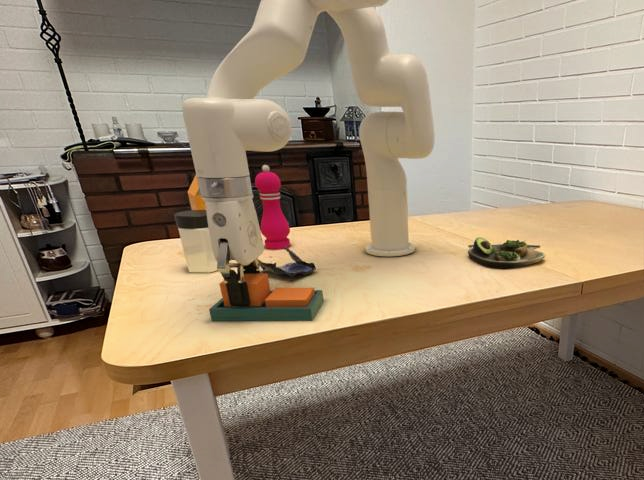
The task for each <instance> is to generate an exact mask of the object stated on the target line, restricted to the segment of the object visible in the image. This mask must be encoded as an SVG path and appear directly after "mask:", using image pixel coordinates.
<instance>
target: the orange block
mask: <svg viewBox="0 0 644 480" xmlns="http://www.w3.org/2000/svg"><path fill="white" fill-rule="evenodd" d="M244 282H247V287H248V292H249V297H250V305H249V306H231V305H230V302H229V297H228V292H227V288H226V284H225V283H224V280H222V281H221V282H220V283H219V289H220V293H221V297H222V298H223V302H224V307H260V306H261V305H262V304H263V303H264V302H265V299H266V298H267V297H268V296H269V295H270V294H271V292H270V290H271V287H270V282H269V275H268V273H260V274H244ZM222 298H221V299H222Z"/></svg>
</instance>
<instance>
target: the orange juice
mask: <svg viewBox="0 0 644 480" xmlns="http://www.w3.org/2000/svg"><path fill="white" fill-rule="evenodd" d="M187 196H188V200H189V203H190V209H191V210H206V203H205V201H203V200H202V199H201V194H200V190H199V185H198V181H197V175H196V174H195V175H194V178H193V180H192V182H191V184H190V185H189V188H188V190H187Z"/></svg>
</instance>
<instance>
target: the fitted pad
mask: <svg viewBox="0 0 644 480" xmlns="http://www.w3.org/2000/svg"><path fill="white" fill-rule="evenodd" d="M273 290H274V291H273V292H272V293H271V294H270V295H269V296H268V297H267V298H266V299H265V304H266V307H308V305H309V304H310V302H311V300H312V299H313V297H314V296H315V290H316V289H315V287H311V286H310V287H308V286H307V287H275V288H274V289H273Z"/></svg>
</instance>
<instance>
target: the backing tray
mask: <svg viewBox="0 0 644 480" xmlns="http://www.w3.org/2000/svg"><path fill="white" fill-rule="evenodd" d="M314 290H315V296H314V297H313V299H312V300H311V302H310V304H309V305H308V307H266V304H265V302H264V303H263V304H262V305H261V306H260V307H224V302H223V298H220V299H219V300H218V301H216V302H215V304H213V305H212V306H211V307H210V308H209V309H208V311H209V315H210V321H211V322H253V321H254V322H256V321H257V322H263V321H265V322H267V321H269V322H271V321H272V322H274V321H277V322H278V321H279V322H280V321H313V320H314V318H315V317H316V315H317V313H318V312H319V310H320V308H321V306H322V305H323V303H324V299H325V298H324V292H323V289H314ZM273 291H274V289H272V290H271V289H270V292H271V293H272V292H273Z"/></svg>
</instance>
